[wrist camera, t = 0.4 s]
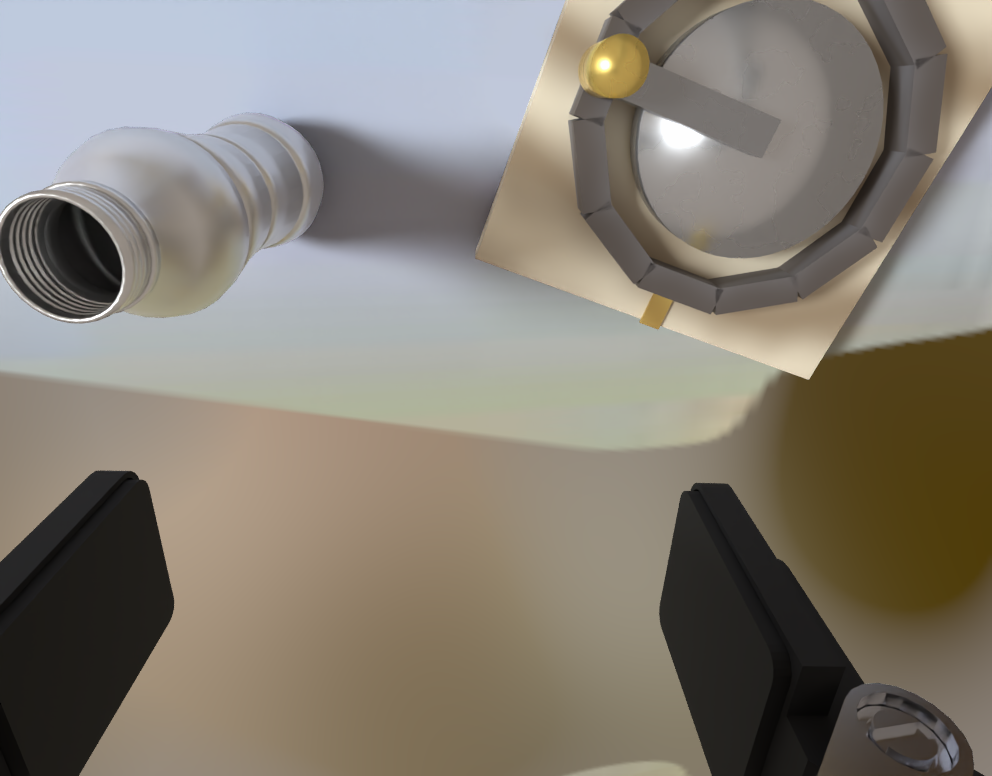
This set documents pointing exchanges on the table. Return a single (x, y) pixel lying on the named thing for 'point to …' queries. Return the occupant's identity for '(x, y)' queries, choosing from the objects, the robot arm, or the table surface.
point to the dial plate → (684, 269)
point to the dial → (747, 123)
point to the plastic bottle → (158, 218)
